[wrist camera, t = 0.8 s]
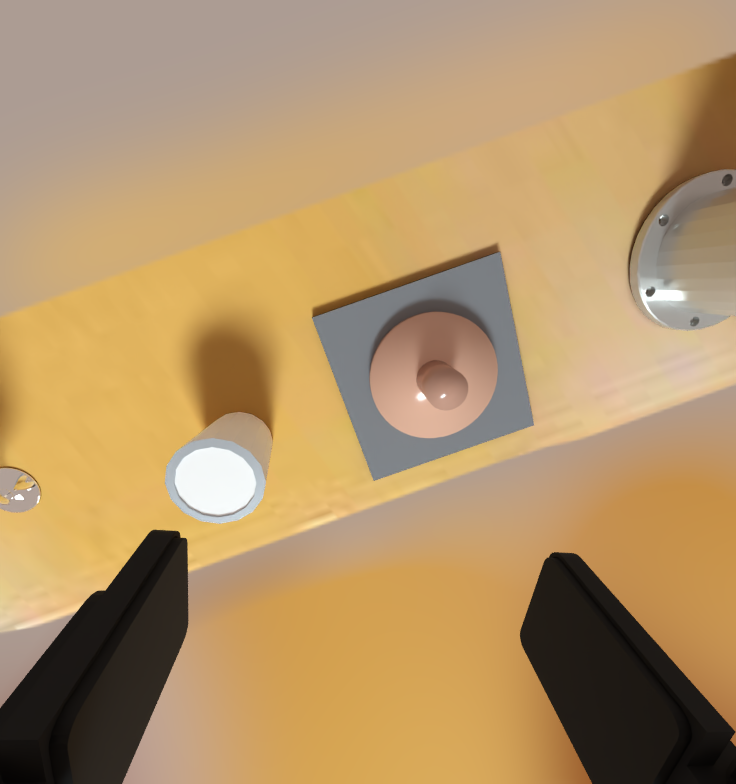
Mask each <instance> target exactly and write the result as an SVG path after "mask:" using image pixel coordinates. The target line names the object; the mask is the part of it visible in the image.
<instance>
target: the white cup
mask: <svg viewBox="0 0 736 784" xmlns="http://www.w3.org/2000/svg"><path fill="white" fill-rule="evenodd" d="M272 443H273V440H272V436H271V432H270V430H269V428H268V427H267V426H266V425H265V423H264V422H263V421H262V420H260V419H259V418H257V417H256V416H254V415H252V414H248V413H243V412H234V413H229V414H225V415H224V416H222V417H220V418H219V419H217V420H216V421H214V422H213V423H212V424H211V425H209V426H208V427H207V428H205V429H204V430H203V431H202V432H200V433H199V434H198V435H197V436H195V437H194V438H193V439H191V440H190V441H189V442H188V443H186V444H185V445H184V446H182V447H181V448H180V449H179V450H177V451H176V453H175V454H174V456H173V457H172V459H171V460H170V462H169V463H168V465H167V468H166V478H165V484H166V487H167V490H168V492H169V495H170V498H171V500H172V501H173V502H174V503H175V504H176V505H177V506H178V507H179V508H180V509H181V510H182V511H183V512H184V513H186V514H188V515H190V516H192V517H194V518H196V519H198V520H200V521H205V522H212V523H219V524H220V523H226V522H231V521H237V520H239V519H241V518H243V517H244V516H246V515H248V514H249V513H251V512H253V511H254V509H255V508H256V507H257V505H258V504H259V503H260V501H261V500H262V498H263V494H264V489H265V484H266V478H267V472H268V467H269V461H270V455H271V449H272Z"/></svg>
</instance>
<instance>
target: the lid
mask: <svg viewBox="0 0 736 784" xmlns="http://www.w3.org/2000/svg"><path fill="white" fill-rule="evenodd" d="M497 376H498V364H497V358H496V354H495V350H494V348H493V346H492V343H491V342H490V340H489V338H488V337H487V335H486V334H485V333H484V332H483V331H482V330H481V329H480V328H479V327H478V326H477V325H476V324H474V323H473V322H471V321H470V320H468V319H466V318H464V317H462V316H459V315H455V314H452V313H447V312H437V311H432V312H424V313H420V314H416V315H413V316H411V317H409V318H406V319H405V320H403V321H401V322H400V323H398V324H397V325H396V326H394V327H393V328H392V329H391V330H390V331H389V332H388V333H387V334H386V335H385V336H384V337H383V339H382V340H381V341H380V343H379V345H378V346H377V348H376V350H375V353H374V355H373V358H372V361H371V365H370V372H369V382H370V389H371V393H372V397H373V400H374V402H375V404H376V407H377V408H378V410H379V412H380V414H381V415H382V416H383V417H384V419H385V420H386V421H387V422H388V423H389V424H390V425H392V426H393V427H395V428H396V429H397V430H399V431H401V432H403V433H405V434H408V435H411V436H415V437H420V438H438V437H444V436H447V435H451V434H453V433H456V432H458V431H460V430H462V429H464V428H465V427H467V426H468V425H470V424H471V423H472V422H473V421H474V420H476V419H477V418H478V417H479V416H480V414H481V413H482V412H483V411H484V410H485V408H486V407H487V405H488V404H489V402H490V400H491V398H492V396H493V393H494V391H495V387H496V383H497Z"/></svg>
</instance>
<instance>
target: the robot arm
mask: <svg viewBox="0 0 736 784" xmlns="http://www.w3.org/2000/svg"><path fill="white" fill-rule="evenodd" d="M630 284H631V289H632V294H633V297H634V299H635V301H636V304H637V306H638V307H639V309H640V310H641V311H642V313H643V314H644V315H645V316H646V317H647V318H648V319H650V320H651V321H652V322H654V323H656V324H658V325H660V326H662V327H665V328H670V329H675V330H686V331H691V330H700V329H704V328H707V327H710V326H713V325H716V324H718V323H720V322H722V321H724V320H726V319H727V318H729V317H730V316H736V169H723V170H718V171H712V172H709V173H706V174H702V175H699V176H696V177H693V178H691V179H689V180H688V181H686V182H684V183H682V184H680V185H678V186H677V187H676V188H675V189H673V190H672V191H671V192H669V193H668V194H667V195H666V196H665V197H664V198H663V199H662V200H661V201H660V202H659V203H658V204H657V205H656V206H655V207H654V209H653V210H652V212H651V213H650V214H649V216H648V217H647V219H646V220H645V222H644V224H643V226H642V228H641V230H640V232H639V234H638V236H637V238H636V241H635V244H634V247H633V250H632V256H631V262H630ZM187 628H188V555H187V539H186V538H181V537H180V533H179V532H178V531H166V530H152V531H151V532H150V533H149V534H148V535H147V536H146V538H145V539H144V540H143V542H142V543H141V544H140V546H139V547H138V548H137V550H136V551H135V552H134V554H133V555H132V556H131V558H130V559H129V560H128V562H127V563H126V564H125V565H124V567H123V568H122V569H121V571H120V572H119V573H118V575H117V576H116V577H115V579H114V580H113V581H112V583H111V584H110V585H109V587H108V588H107V589H106V591H97V592H95V593H93V594H92V595H91V596H90V597H89V598H88V599H87V600H86V601H85V602H84V604H83V605H82V606H81V607H80V609H79V610H78V611H77V612H76V614H75V615H74V616H73V617H72V619H71V620H70V621H69V622H68V624H67V625H66V626H65V628H64V629H63V630H62V631H61V632H60V634H59V635H58V636H57V638H56V639H55V640H54V641H53V643H52V644H51V645H50V646H49V648H48V649H47V650H46V651H45V653H44V654H43V655H42V656H41V658H40V659H39V660H38V661H37V663H36V664H35V665H34V666H33V668H32V669H31V670H30V671H29V673H28V674H27V675H26V676H25V678H24V679H23V680H22V682H21V683H20V684H19V685H18V687H17V688H16V689H15V690H14V692H13V693H12V694H11V695H10V697H9V698H8V699H7V700H6V702H5V703H4V704H3V705H2V707H1V708H0V784H122V782H123V780H124V778H125V776H126V773H127V771H128V768H129V766H130V764H131V762H132V759H133V757H134V755H135V752H136V750H137V748H138V746H139V743H140V741H141V739H142V736H143V734H144V731H145V729H146V727H147V725H148V722H149V720H150V717H151V715H152V713H153V711H154V708H155V706H156V704H157V701H158V699H159V697H160V695H161V692H162V690H163V688H164V685H165V683H166V681H167V678H168V676H169V674H170V671H171V669H172V666H173V664H174V662H175V660H176V657H177V655H178V653H179V650H180V648H181V646H182V643H183V641H184V638H185V635H186V632H187ZM520 639H521V643H522V646H523V648H524V650H525V653H526V654H527V656H528V658H529V660H530V662H531V664H532V666H533V668H534V670H535V672H536V674H537V676H538V678H539V680H540V682H541V684H542V686H543V688H544V690H545V692H546V693H547V695H548V698H549V700H550V701H551V704H552V705H553V707H554V709H555V711H556V713H557V715H558V717H559V719H560V721H561V723H562V725H563V727H564V729H565V731H566V733H567V735H568V737H569V739H570V741H571V743H572V744H573V747H574V749H575V751H576V753H577V754H578V756H579V758H580V760H581V762H582V764H583V766H584V768H585V770H586V772H587V774H588V776H589V778H590V780H591V782H592V784H736V746H734V744H733V743H732V742H731V741H730V739H731V738H732V736H733V735H734V733H735V731H734V730H733V729H732V727H731V726H730V725H729V724H728V723H727V722H726V721H725V720H724V719H723V718H722V716H721V715H720V714H719V713H718V712H717V711H716V709H715V708H714V707H713V706H712V705H711V704H710V703H709V702H708V700H707V699H706V698H705V697H704V696H703V695H702V694H701V693H700V691H699V690H698V689H697V688H696V687H695V686H694V685H693V684H692V683H691V681H690V680H689V679H688V678H687V677H686V676H685V675H684V673H683V672H682V671H681V670H680V669H679V668H678V667H677V666H676V664H675V663H674V662H673V661H672V660H671V659H670V658H669V657H668V655H667V654H666V653H665V652H664V651H663V650H662V649H661V648H660V646H659V645H658V644H657V643H656V642H655V641H654V640H653V639H652V638H651V637H650V635H649V634H648V633H647V632H646V631H645V630H644V628H643V627H642V626H641V625H640V624H639V623H638V622H637V621H636V619H635V618H634V617H633V616H632V615H631V614H630V613H629V612H628V610H627V609H626V608H625V607H624V606H623V605H622V604H621V603H620V602H619V600H618V599H617V598H616V597H615V596H614V595H613V594H612V593H611V591H610V590H609V589H608V588H607V587H606V586H605V585H604V584H603V582H602V581H601V580H600V579H599V578H598V577H597V576H596V575H595V573H594V572H593V571H592V570H591V569H590V568H589V567H588V565H587V564H586V563H585V562H584V561H583V560H582V559H581V558H580V557H579V556H578V555H577V554H574V553H559V552H554V553H552V554H551V555H550V556H549V558H547V559H546V560H545V561H544V564H543V567H542V570H541V572H540V575H539V578H538V581H537V584H536V587H535V590H534V593H533V596H532V599H531V602H530V605H529V608H528V610H527V613H526V616H525V619H524V622H523V625H522V628H521V631H520Z"/></svg>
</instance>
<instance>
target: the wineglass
mask: <svg viewBox="0 0 736 784" xmlns="http://www.w3.org/2000/svg"><path fill="white" fill-rule="evenodd" d="M40 498H41V491H40V488H39V486H38V484H37V482H36V481H35V480H34V479H33V478H32V477H31V476H30V475H28V474H27V473H25V472H23V471H21V470H18V469H14V468H0V509H2V510H4V511H8V512H14V513H20V512H26V511H29V510H31V509H33V508H34V507H35V506H36V505H37V504H38V503H39V501H40Z"/></svg>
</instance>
